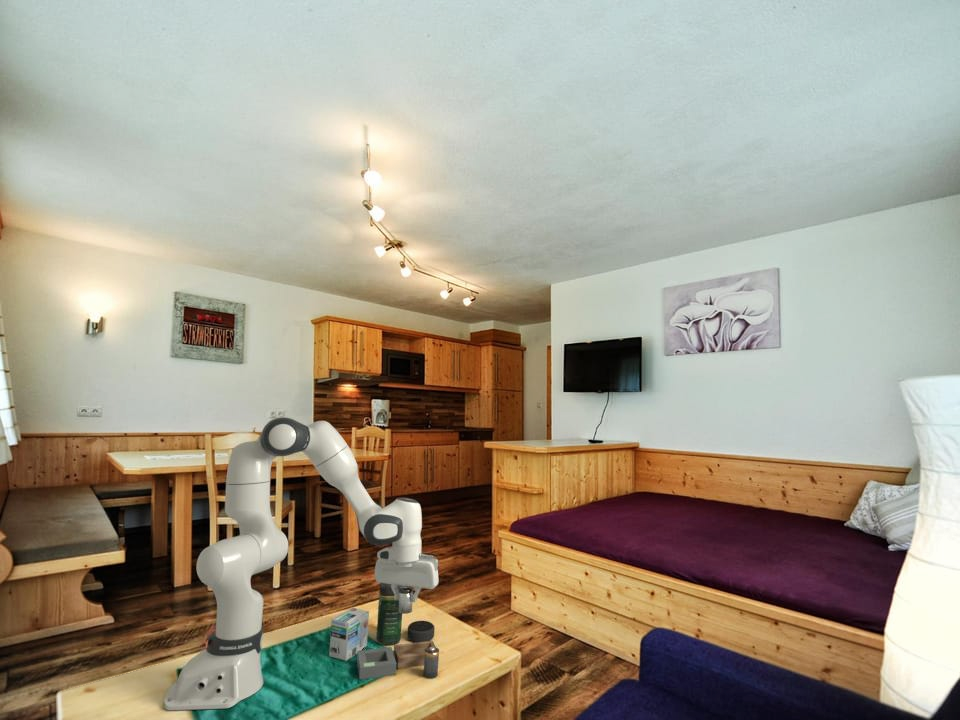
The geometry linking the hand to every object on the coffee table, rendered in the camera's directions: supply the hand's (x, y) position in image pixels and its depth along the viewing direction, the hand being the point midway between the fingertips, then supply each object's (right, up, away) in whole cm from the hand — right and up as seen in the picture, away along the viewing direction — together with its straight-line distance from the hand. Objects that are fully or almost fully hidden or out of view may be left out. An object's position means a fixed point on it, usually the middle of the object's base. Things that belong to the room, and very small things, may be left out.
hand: (405, 600), depth 145 cm
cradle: (-8, -17, -6) cm, 19 cm away
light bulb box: (-18, -17, +3) cm, 25 cm away
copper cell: (+8, -17, -9) cm, 21 cm away
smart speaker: (+3, -20, +14) cm, 24 cm away
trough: (+3, -18, 0) cm, 18 cm away
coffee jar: (-7, -19, +12) cm, 23 cm away
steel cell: (0, -3, 0) cm, 3 cm away
